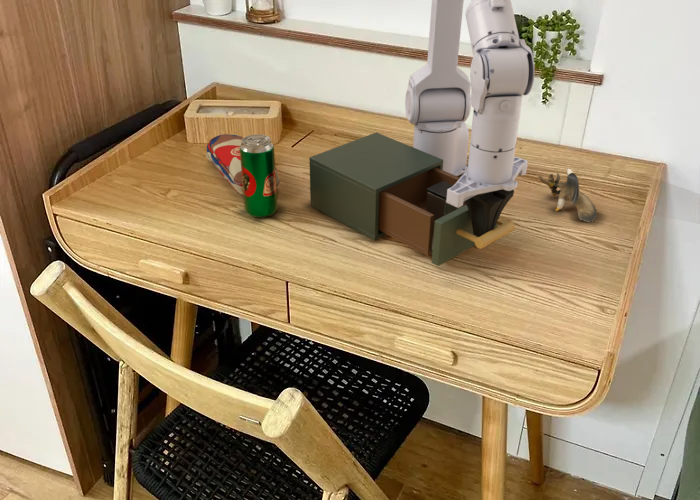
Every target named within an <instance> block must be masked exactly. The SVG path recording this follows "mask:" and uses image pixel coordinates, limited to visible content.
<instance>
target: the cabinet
mask: <svg viewBox="0 0 700 500" xmlns="http://www.w3.org/2000/svg"><path fill="white" fill-rule="evenodd" d="M308 158H309V159H308V161H309V194H310V195H309V196H310V197H309V199H310V207H312V208H314V209H315V210H318V211H319V212H322V213H323V214H325V215H327V216H329V217H331V218H332V219H333V220H336V221H338V222H340V223H342V224H343V225H345V226H347V227H348V228H351V229H353V230H354V231H356V232H358V233H360V234H361V235H364V236H366V237H367V238H369V239H370V240H373V241H377V240H379V239H381V238H383V237H385V236H388V235H387V234H385V233H383V232H381V231H379V230H378V220H379V192H381V191H383V190H385V189H388V188H390V187H392V186H394V185H397V184H399V183H401V182H403V181H406V180H408V179H410V178H412V177H415V176H417V175H419V174H421V173H424V172H426V171H428V170H430V169H433V168H435V167H436V168H439V169H441V170H443V160H442V159H440V158H438V157H435V156H433V155H430V154H428V153H425V152H423V151H421V150H418V149H416V148H413V146H411V145H408V144H406V143H403V142H401V141H398V140H397V139H394V138H391V137H389V136H386V135H384V134H381V133H379V132H373V133H371V134H368V135H365V136H362V137H360V138H357V139H355V140H352V141H349V142H347V143H344V144H341V145H339V146H336V147H333V148H330V149H328V150H326V151H323V152H319V153H317V154H314V155H312V156H309V157H308Z"/></svg>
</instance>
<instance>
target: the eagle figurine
mask: <svg viewBox="0 0 700 500" xmlns="http://www.w3.org/2000/svg"><path fill="white" fill-rule="evenodd" d="M537 177H538V178H539V181H540V182H542V183H543V184H545V185H546V186H547V187H548V188H549V190H550V191H551V195H552V197H553V198H556V197H557V196H558V199H557V206H556V208H555V212H558V211H559V210H561V209H562V208H563V207H564V205H565V204H566V202H567V201H570V202H571V203H572V205H574V206H575V208H576V210H577V216H578V219H579V220H580V221H583V222H587V223H593V222H594V220H596V219H597V217H598V216H597V215H598V211H597V207H596V205H594V202H593V201H592V200H591V199H590V198H589V197H588V196H587V195H586V194H585V193H583V191H580V182H579V178H578V175H576V174H575V173H574V171H573V170H572V169H570V168H567V169H566V181H564V182H563V181H561V176H560V174H559V172H556V178H555V177H554V174H553V173H550V174H549V175H548V178H547V179H546V178H544V177H542V175H540V174H538V175H537ZM558 188H559V190H558Z"/></svg>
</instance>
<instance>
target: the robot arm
mask: <svg viewBox="0 0 700 500" xmlns="http://www.w3.org/2000/svg"><path fill="white" fill-rule="evenodd" d="M464 1H465V0H431V7H430V22H429V32H428V33H429V34H428V35H429V36H428V45H427V46H428V47H427V48H428V49H427V61H426V62H427V63H426V64H425V65H423V66H422V67H420V68H419V69H416V71H414V72H412V74H409V78H408V83H407V89H406V91H405V99H404V103H405V105H404V106H405V116H406V118H407V121H408V122H409V123H410V125H414V126H413V142H412V143H413V144H412V147H413V148H416V149H418V150H421V151H423V152H425V153H428V154H430V155H433V156H435V157H438V158H440V159H442V160H443V171H446V172H448V173H450V174H453V175H455V176H457V177H459V176H460V175H461V176H460V179H459V180H458V181H457V182H456V184H455V185H454V186H452V187H451V188H449V189H447V200H446V203H448V204H450V205H453V206H455V207H457V208H459V207H461V206H463V201H465V203H466V205H467V207H468V210H469V213H470V217H471V222H472V228H473V234H474V235H476V236H478V237H480V236H482V235H484V234H485V233H487V232H489V231H491V230H492V229H494V228H495V225H496V223H497V221H498V218H499V219H500V217H501V214H502V213H503V210H504V209H505V207H506V205H507V204H508V203H509V202H510V201H511V199H512V198H513V197H514V194H515V189H516V188H518V184H519V182H518V181H517V180H516V179H517V177H518V176H524V175H527V172H528V163H529V160H527V159H524V158H521V157H519V156H515V155H516V147H517V140H518V134H519V127H520V119H521V111H522V105H523V96H528V95H529V94H530V92H531V91H532V89H533V86H534V82H535V81H534V80H535V69H536V68H535V60H534V54H533V50H532V49H531V47H530V46H529V45H527V43H526V40H525V39H524V38H520V35H519V31H518V27H517V22H516V17H515V14H514V9H513V4H512V0H471V1H470V2H469V4H468V6H467V8H466V10H465V19H466V25H467V31H468V35H469V39H470V40H469V41H470V46H471V50H472V56H473V57H472V59H471V65H470V68H469V69H470V70H469V71H470V73H469V74H470V75H469V76H468V74H467V73H466V72H465V71H463V69H461V68H459V67H458V63H459V54H460V42H461V33H462V32H461V31H462V21H463V13H464ZM469 77H470V78H469ZM472 108H473V112H472V120H471V121H472V122H471V130H470V131H471V132H470V131H469V128H468V125H467V124H466V121H467V120H468V118H469V117H470V115H471V111H472ZM468 152H469V153H468Z"/></svg>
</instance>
